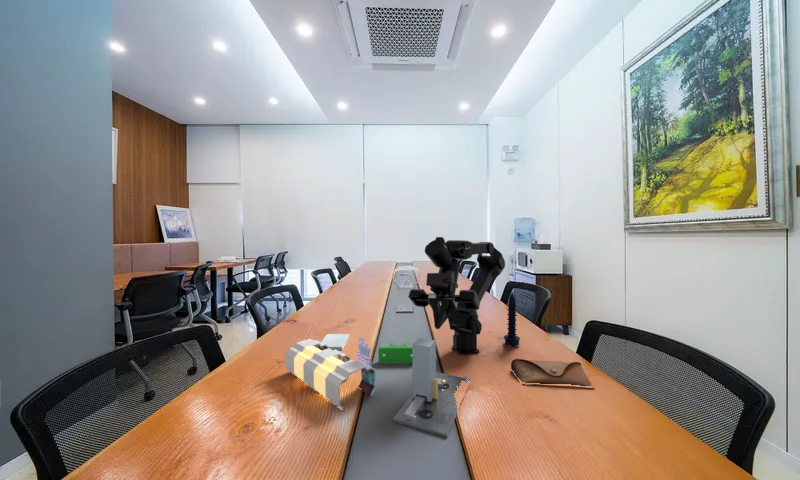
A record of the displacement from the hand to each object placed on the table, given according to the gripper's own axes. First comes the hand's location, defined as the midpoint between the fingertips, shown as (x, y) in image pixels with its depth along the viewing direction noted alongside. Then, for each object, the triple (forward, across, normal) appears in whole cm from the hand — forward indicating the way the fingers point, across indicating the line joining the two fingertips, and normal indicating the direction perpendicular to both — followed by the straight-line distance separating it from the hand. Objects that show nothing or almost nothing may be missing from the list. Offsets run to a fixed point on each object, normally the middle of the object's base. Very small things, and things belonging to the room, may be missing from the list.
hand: (436, 328), depth 75 cm
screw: (-11, +12, +34) cm, 38 cm away
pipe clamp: (+6, -15, +11) cm, 20 cm away
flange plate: (+16, +2, +2) cm, 16 cm away
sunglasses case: (+3, +24, +21) cm, 32 cm away
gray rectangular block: (+16, +1, 0) cm, 16 cm away
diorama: (+19, -24, -4) cm, 31 cm away
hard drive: (+5, -41, +11) cm, 43 cm away
